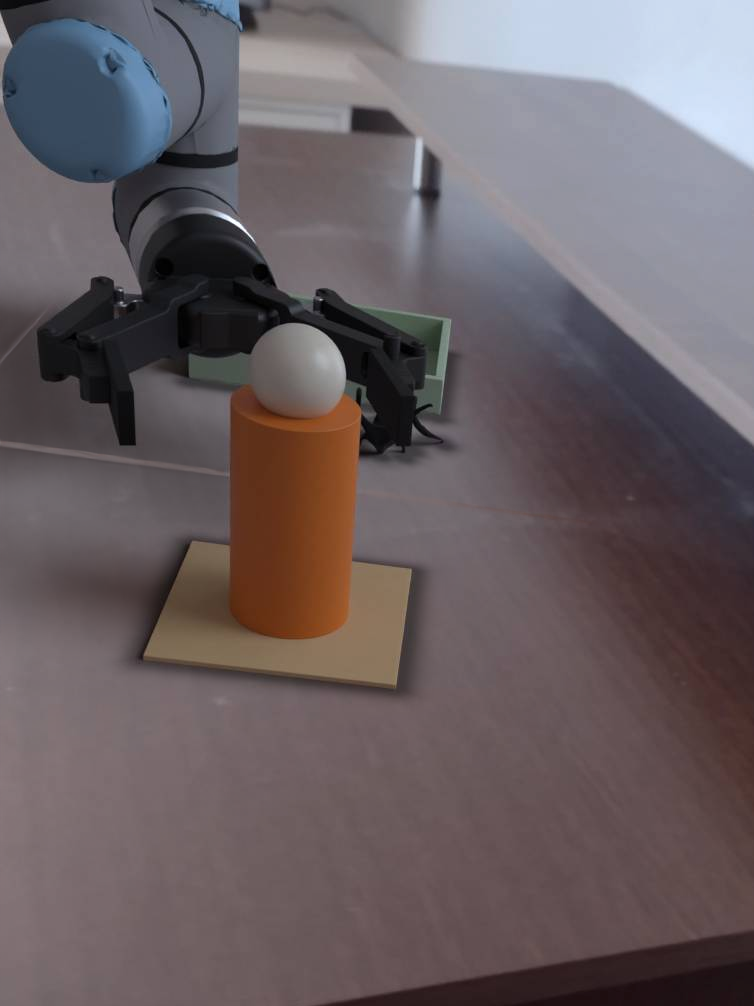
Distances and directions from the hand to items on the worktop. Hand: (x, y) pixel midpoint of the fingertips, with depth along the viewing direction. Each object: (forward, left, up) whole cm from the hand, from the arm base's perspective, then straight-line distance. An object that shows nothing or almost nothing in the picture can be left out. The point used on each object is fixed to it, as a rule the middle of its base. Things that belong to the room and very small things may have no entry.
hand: (272, 420), depth 65 cm
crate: (-1, +32, -9) cm, 34 cm away
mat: (+1, -3, -9) cm, 10 cm away
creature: (+4, +20, -9) cm, 23 cm away
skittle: (+2, -3, -9) cm, 9 cm away
